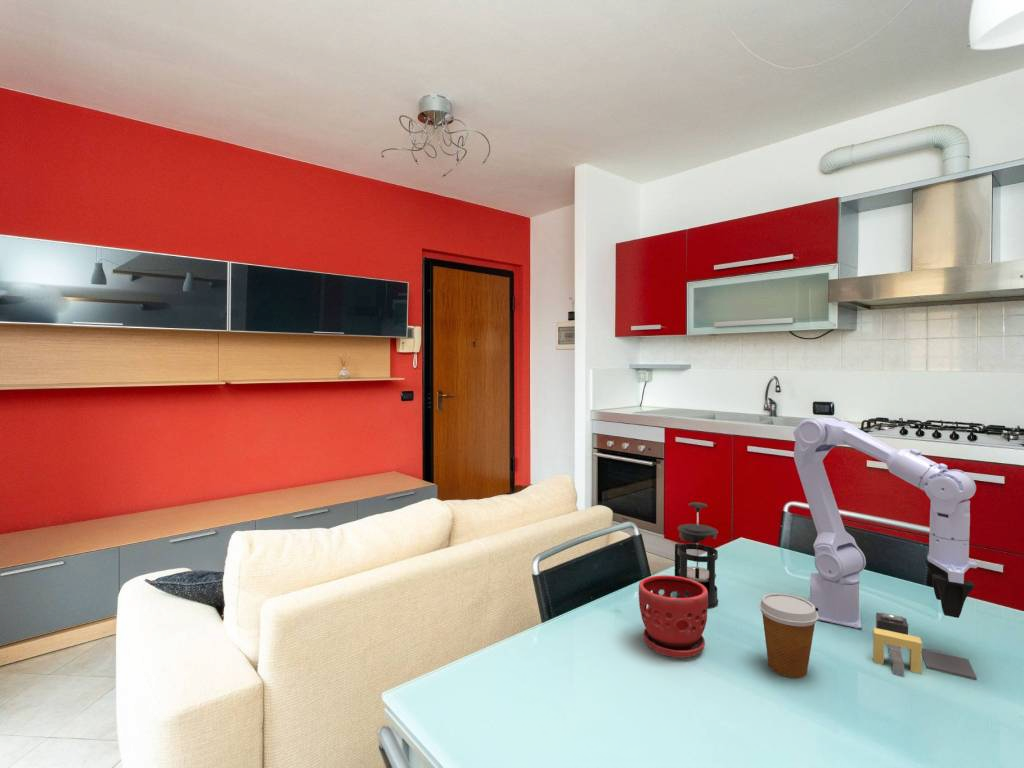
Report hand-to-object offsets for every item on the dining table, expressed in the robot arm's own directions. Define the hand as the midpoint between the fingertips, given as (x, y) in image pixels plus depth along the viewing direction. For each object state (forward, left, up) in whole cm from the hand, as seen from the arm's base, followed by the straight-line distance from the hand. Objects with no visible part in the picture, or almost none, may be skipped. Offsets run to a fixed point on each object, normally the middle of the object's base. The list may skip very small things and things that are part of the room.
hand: (947, 607), depth 98 cm
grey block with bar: (-8, -3, -10) cm, 13 cm away
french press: (-46, +2, -10) cm, 47 cm away
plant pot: (-45, -22, -10) cm, 51 cm away
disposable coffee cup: (-25, -19, -10) cm, 33 cm away
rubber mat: (0, -2, -10) cm, 10 cm away
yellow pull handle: (-8, -7, -10) cm, 14 cm away
